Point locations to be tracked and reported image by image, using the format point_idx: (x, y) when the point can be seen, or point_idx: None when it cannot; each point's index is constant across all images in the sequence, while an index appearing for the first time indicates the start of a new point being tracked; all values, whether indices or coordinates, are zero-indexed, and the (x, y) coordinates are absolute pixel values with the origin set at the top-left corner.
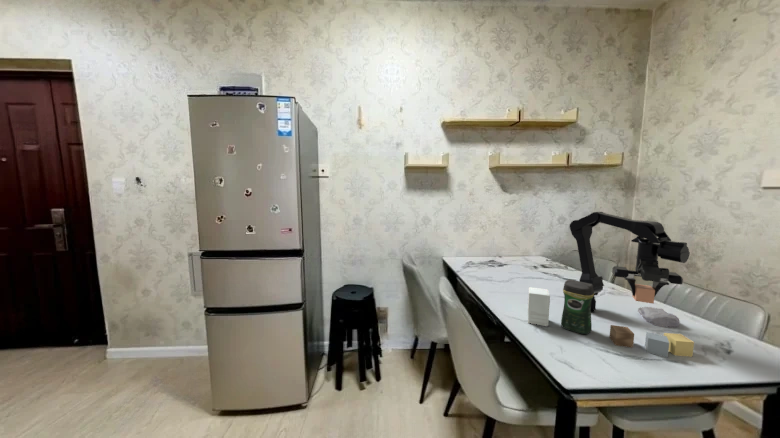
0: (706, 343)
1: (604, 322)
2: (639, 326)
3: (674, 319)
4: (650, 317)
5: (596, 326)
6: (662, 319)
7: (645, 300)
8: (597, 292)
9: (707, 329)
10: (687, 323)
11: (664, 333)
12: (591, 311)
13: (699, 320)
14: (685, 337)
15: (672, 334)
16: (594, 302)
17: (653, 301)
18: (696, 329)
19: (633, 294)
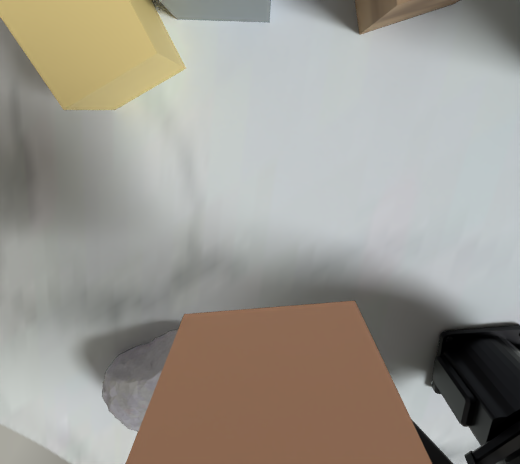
0: (21, 245)
1: (420, 235)
2: (262, 278)
3: (117, 377)
4: None
5: (483, 150)
6: (165, 361)
7: (261, 324)
8: (508, 460)
9: (30, 385)
10: (90, 404)
11: (154, 48)
12: (455, 331)
13: (58, 446)
14: (34, 53)
15: (107, 59)
16: (466, 389)
17: (180, 330)
18: (62, 366)
19: None
